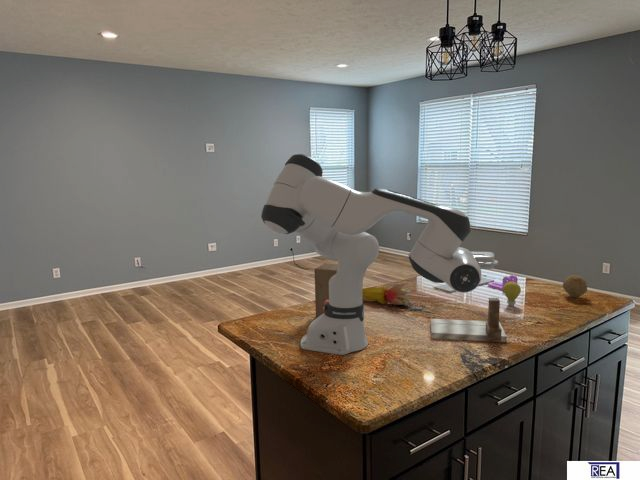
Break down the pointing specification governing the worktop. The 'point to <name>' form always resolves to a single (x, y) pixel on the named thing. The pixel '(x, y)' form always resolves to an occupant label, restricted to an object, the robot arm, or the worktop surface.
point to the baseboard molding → (449, 290)
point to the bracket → (505, 280)
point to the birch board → (461, 330)
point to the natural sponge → (575, 286)
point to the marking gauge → (493, 321)
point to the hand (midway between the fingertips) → (455, 253)
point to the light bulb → (511, 292)
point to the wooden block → (323, 285)
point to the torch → (388, 295)
